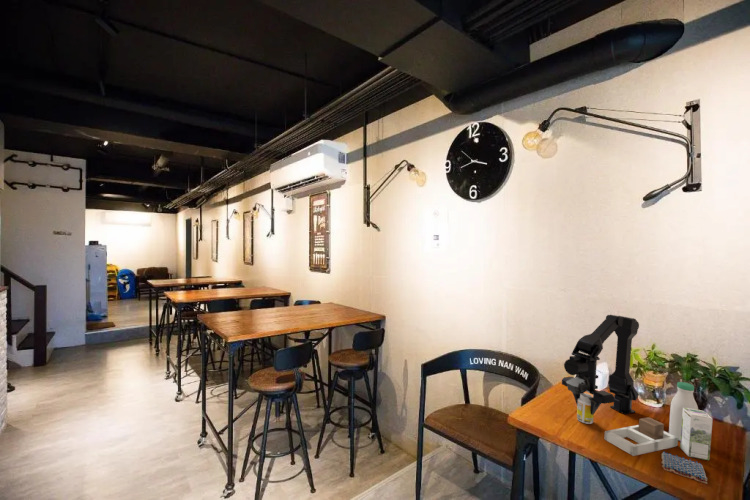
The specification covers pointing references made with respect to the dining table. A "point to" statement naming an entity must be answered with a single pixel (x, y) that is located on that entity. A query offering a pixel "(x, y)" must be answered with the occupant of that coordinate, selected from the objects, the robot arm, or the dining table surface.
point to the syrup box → (696, 433)
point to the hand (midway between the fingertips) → (585, 410)
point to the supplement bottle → (584, 409)
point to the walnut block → (651, 428)
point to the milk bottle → (680, 407)
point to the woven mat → (683, 467)
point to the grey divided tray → (639, 440)
